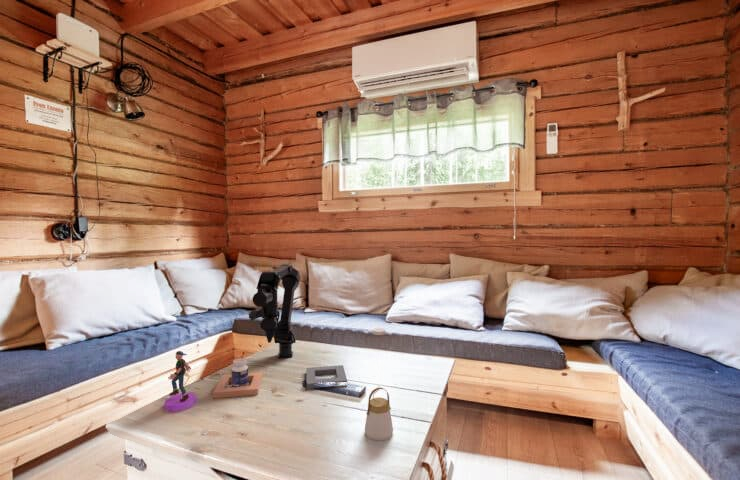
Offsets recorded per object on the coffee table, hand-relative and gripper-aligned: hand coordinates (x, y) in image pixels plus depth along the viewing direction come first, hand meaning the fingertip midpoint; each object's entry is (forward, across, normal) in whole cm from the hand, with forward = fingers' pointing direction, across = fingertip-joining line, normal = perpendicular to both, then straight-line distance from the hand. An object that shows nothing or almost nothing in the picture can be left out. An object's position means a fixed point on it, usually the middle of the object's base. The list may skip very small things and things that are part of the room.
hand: (270, 339), depth 146 cm
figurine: (+14, +24, -27) cm, 38 cm away
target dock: (+13, +14, -10) cm, 22 cm away
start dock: (+13, +13, +22) cm, 29 cm away
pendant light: (+14, +52, +35) cm, 64 cm away
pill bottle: (+13, +14, -10) cm, 22 cm away
